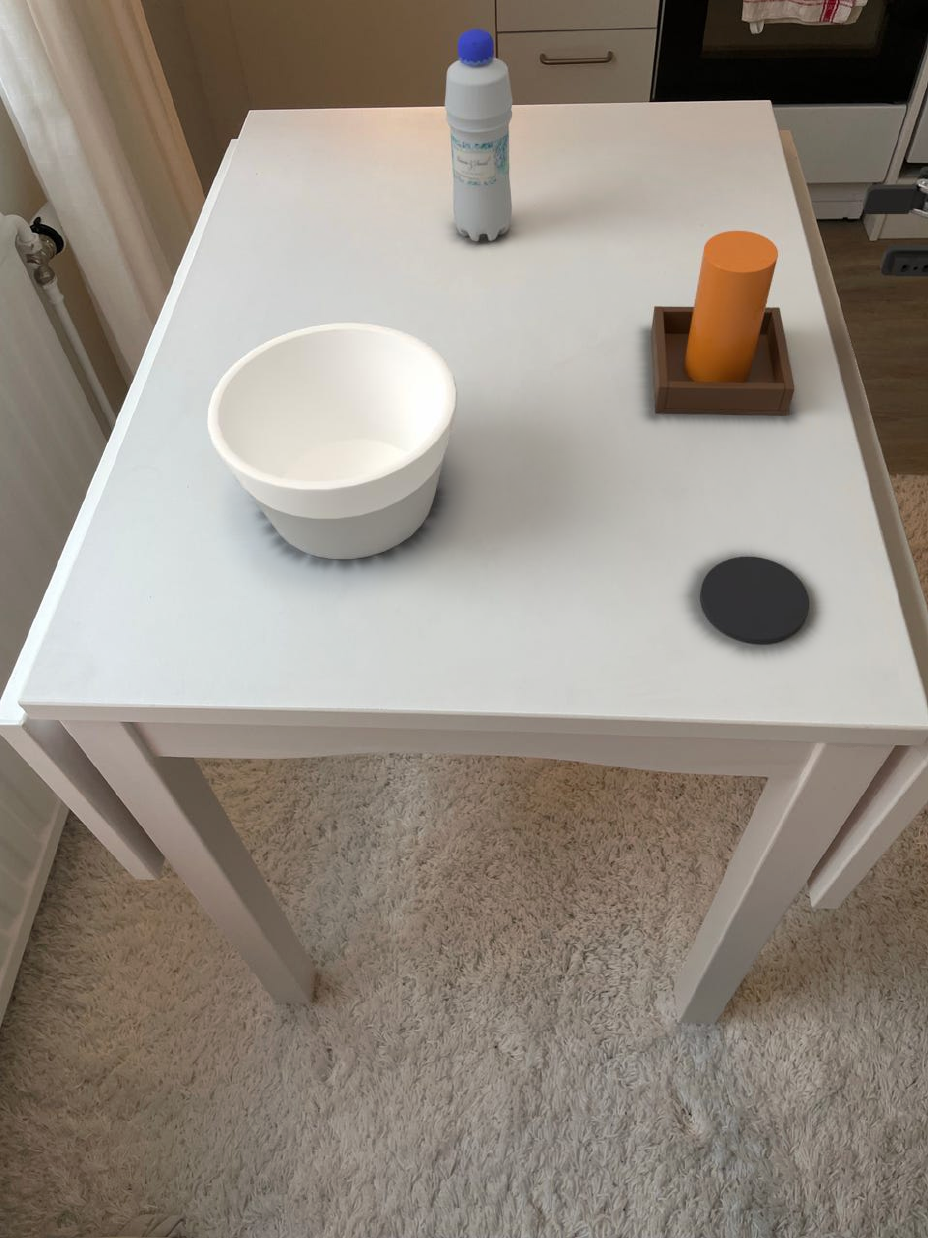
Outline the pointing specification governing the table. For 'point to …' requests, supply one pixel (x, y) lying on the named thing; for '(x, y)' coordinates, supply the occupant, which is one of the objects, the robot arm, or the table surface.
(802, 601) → the coaster
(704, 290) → the orange cylinder
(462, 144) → the bottle
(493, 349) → the table surface
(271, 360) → the bowl
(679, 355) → the tray
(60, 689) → the table surface
